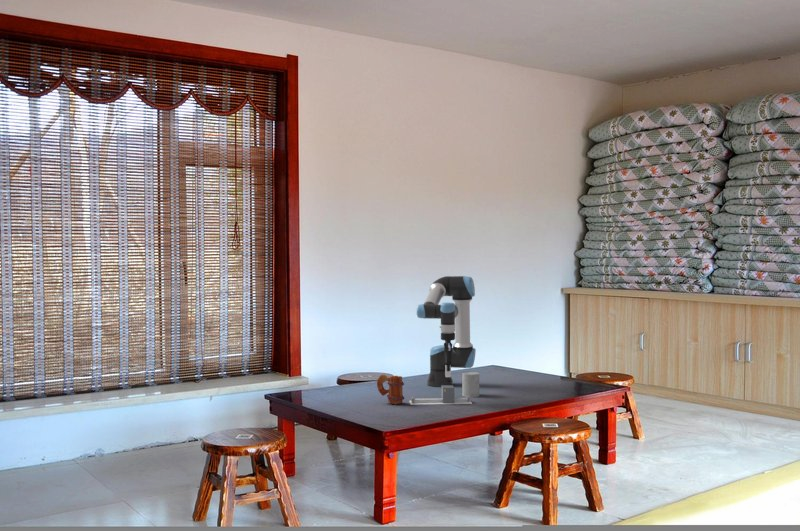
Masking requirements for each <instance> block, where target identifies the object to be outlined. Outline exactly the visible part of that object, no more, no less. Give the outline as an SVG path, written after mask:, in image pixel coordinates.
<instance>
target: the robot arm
mask: <svg viewBox="0 0 800 531" xmlns="http://www.w3.org/2000/svg"><path fill="white" fill-rule="evenodd" d="M428 291H429V292H428V295H427V296H426V299H425V300H424V303H421V304H417V306H416V316H417V318H418V319H430V320H431V319H434V320H435V319H437V320H438V319H440V326H439V329H440V340H441V341H444V342H443V344H442V345H436V346H432V347H431V348H430V354H429V367H430V369H429V370H430V372H429V375H428V379H427V381H426V382H427V383H426V384H427V386H430V387H438V388H439V387H440V388H441V385H453V386H454V381H453V378H452V368H456V369H457V368H458V369H462V368H463V369H471V368H473V366H474V363H475V359H476V353H477V352H476V350H477V349H476V348H475V347H474V346H473V344H472V343H471V316H470V315H471V310H470V306H471V305H470V303H471V301H472V300H473V298H474V297H475V296H476V293H475V292H476V288H475V283H474V279H473V277H471V276H468V275H460V276H458V275H457V276H456V275H453V276H451V275H450V276H449V275H448V276H443V277H439V278H438V279H436V280H435V281H433V282H432V284H431V285H430V287H429V290H428ZM444 297H451V299H452V301H453V302H442V303H441V304H440V302H441V300H442V298H444ZM454 340H455V343H452V341H454Z"/></svg>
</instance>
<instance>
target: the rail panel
mask: <svg viewBox="0 0 800 531" xmlns="http://www.w3.org/2000/svg"><path fill="white" fill-rule="evenodd" d="M470 399H471V397H469V396H466V397H455V403H443V398H441V397H440V398H414V396H411V399H410V400H409V401H408V402H409V404H410V406H421V405H422V406H424V405H425V406H426V405H427V406H428V405H432V406H433V405H472V404H473V403H472V401H471V400H470Z"/></svg>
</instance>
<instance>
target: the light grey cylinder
mask: <svg viewBox="0 0 800 531" xmlns="http://www.w3.org/2000/svg"><path fill="white" fill-rule="evenodd" d="M461 377H462V378H461V383H462V384H461V386H462V388H461V391H462V392H461V394H462V395H461V396H462V397H464V398H466V396H469V397H470V398H478V397H480V372H476V371H464V372H462V373H461Z"/></svg>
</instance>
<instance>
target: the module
mask: <svg viewBox="0 0 800 531" xmlns="http://www.w3.org/2000/svg"><path fill="white" fill-rule="evenodd" d="M440 388H441V392H440V393H441V397H440V398H443V403H455V398H456V397H455V386H454V384H453V385H441V387H440Z"/></svg>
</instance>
